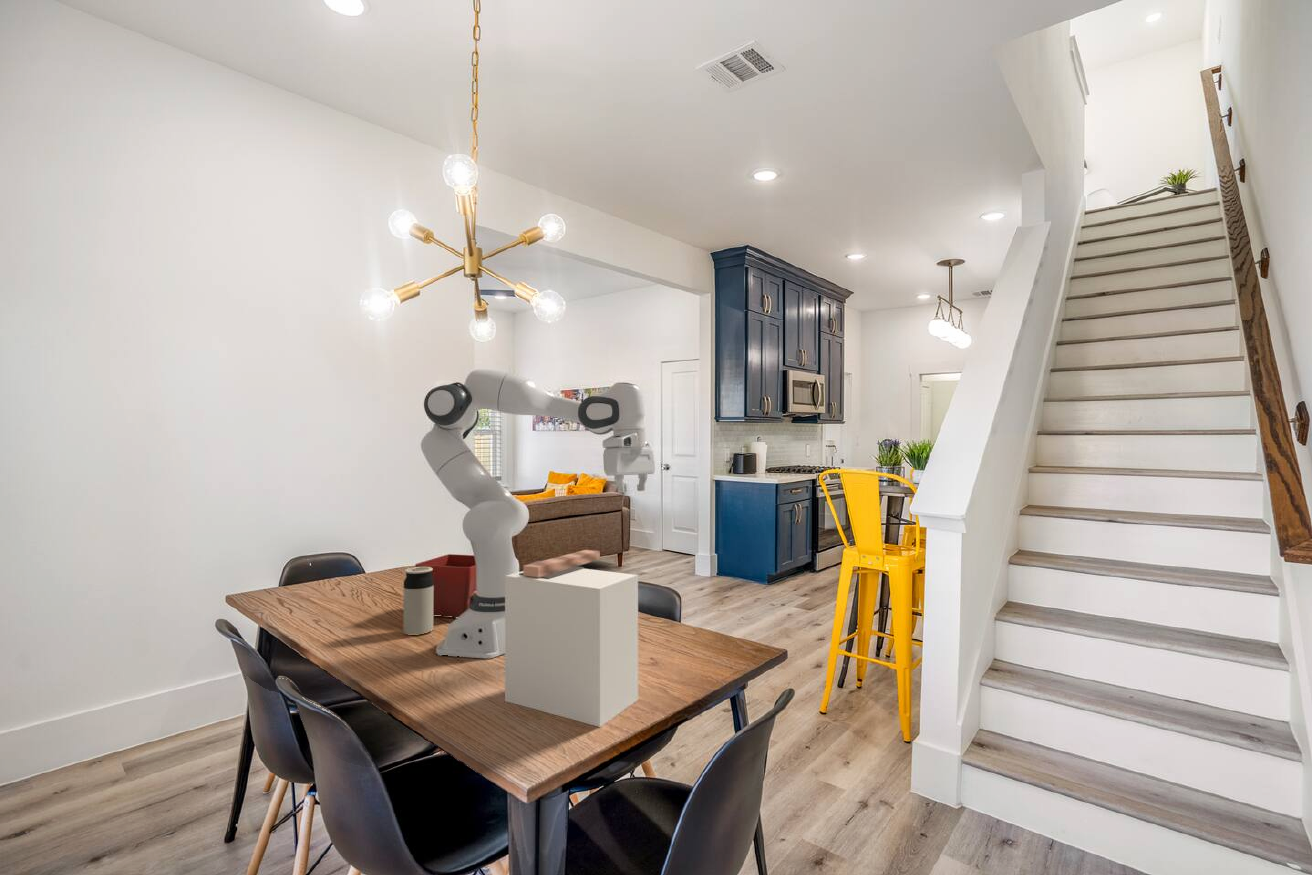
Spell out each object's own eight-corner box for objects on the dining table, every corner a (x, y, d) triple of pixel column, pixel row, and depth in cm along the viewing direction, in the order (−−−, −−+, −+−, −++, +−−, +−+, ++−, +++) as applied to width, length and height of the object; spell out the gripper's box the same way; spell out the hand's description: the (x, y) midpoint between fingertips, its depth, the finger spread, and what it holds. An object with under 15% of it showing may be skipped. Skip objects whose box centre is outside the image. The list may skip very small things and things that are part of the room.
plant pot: (499, 606, 198) (499, 555, 198) (469, 623, 179) (469, 567, 180) (448, 603, 202) (448, 553, 203) (413, 619, 184) (413, 564, 184)
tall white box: (548, 678, 136) (548, 562, 137) (638, 699, 125) (637, 573, 125) (505, 700, 124) (505, 574, 125) (600, 726, 112) (599, 587, 113)
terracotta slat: (586, 558, 143) (586, 549, 143) (599, 559, 141) (599, 551, 141) (523, 575, 124) (523, 565, 124) (538, 577, 122) (538, 567, 122)
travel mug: (438, 628, 174) (438, 566, 175) (424, 636, 166) (425, 572, 167) (412, 627, 175) (412, 566, 175) (397, 635, 167) (398, 571, 167)
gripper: (640, 443, 174) (642, 490, 173) (598, 441, 157) (600, 493, 156) (659, 441, 171) (661, 489, 170) (617, 439, 154) (620, 493, 153)
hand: (631, 491), depth 163 cm, fingers open, 8 cm apart
